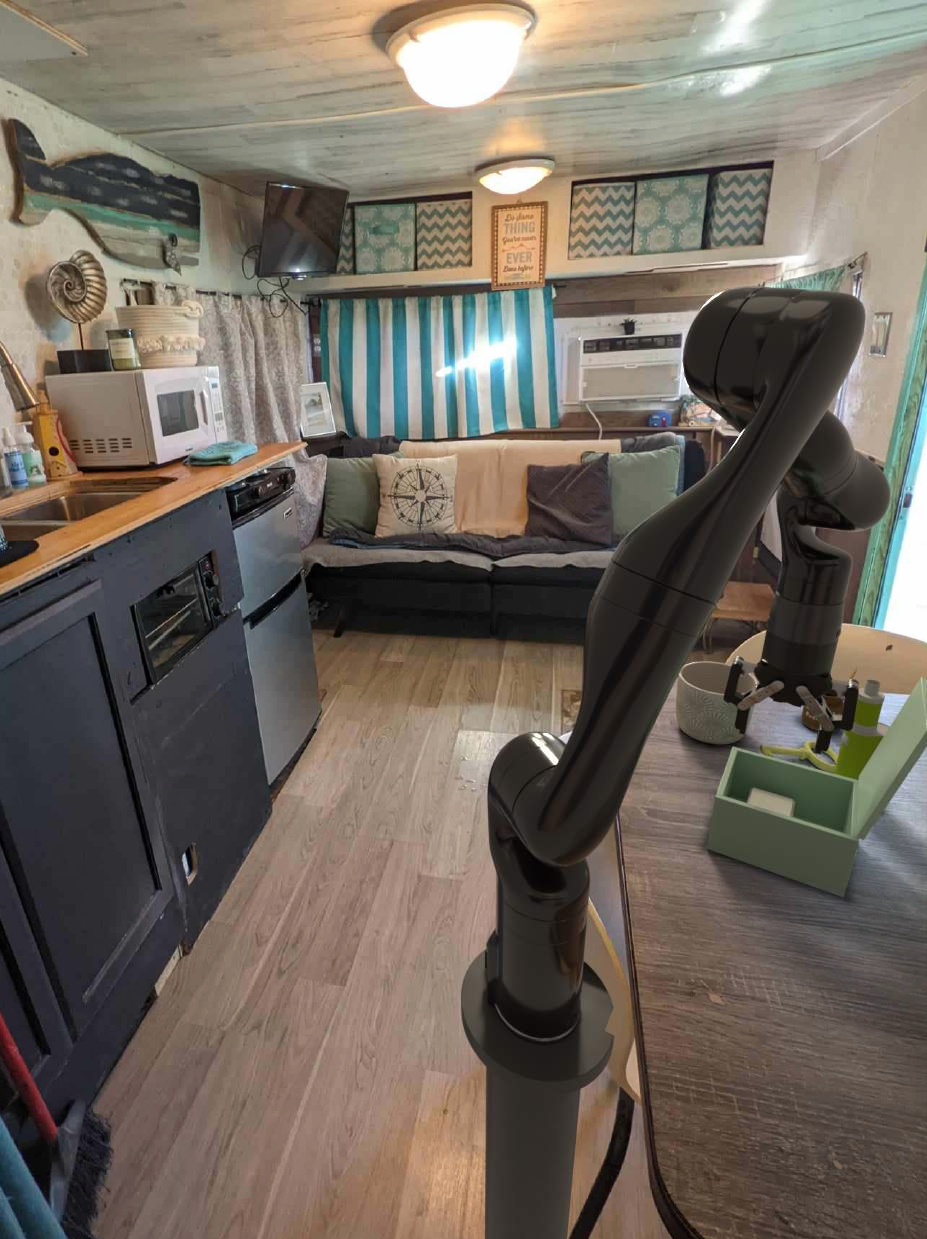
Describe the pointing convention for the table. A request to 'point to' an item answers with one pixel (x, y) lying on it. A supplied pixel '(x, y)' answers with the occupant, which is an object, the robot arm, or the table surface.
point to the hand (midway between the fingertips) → (778, 741)
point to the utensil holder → (833, 704)
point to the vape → (862, 732)
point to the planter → (709, 702)
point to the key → (802, 754)
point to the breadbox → (787, 820)
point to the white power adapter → (771, 801)
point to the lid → (892, 759)
